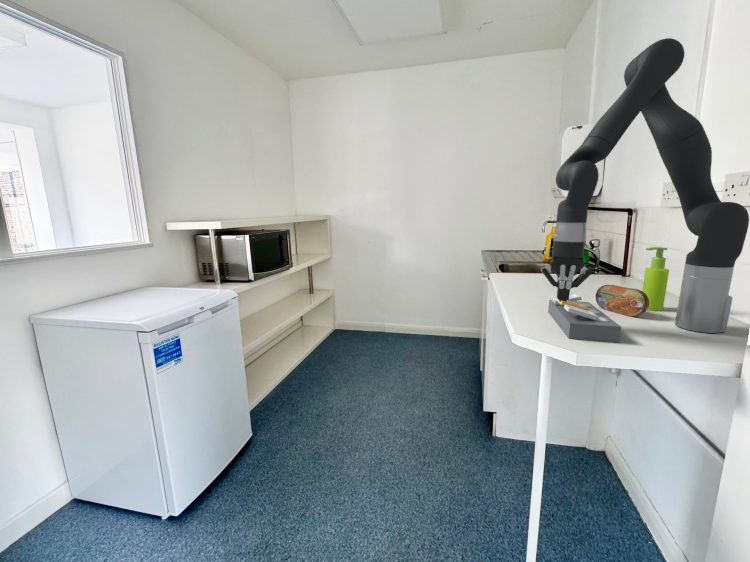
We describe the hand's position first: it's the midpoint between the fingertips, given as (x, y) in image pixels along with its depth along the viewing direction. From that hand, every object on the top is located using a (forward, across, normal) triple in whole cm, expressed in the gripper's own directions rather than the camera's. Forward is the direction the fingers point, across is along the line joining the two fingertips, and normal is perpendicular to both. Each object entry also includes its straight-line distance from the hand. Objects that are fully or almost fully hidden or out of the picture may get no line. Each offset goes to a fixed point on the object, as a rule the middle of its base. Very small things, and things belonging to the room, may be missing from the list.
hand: (562, 301), depth 96 cm
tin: (+7, -21, -17) cm, 28 cm away
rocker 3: (+1, -3, +7) cm, 8 cm away
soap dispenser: (+6, -32, -24) cm, 40 cm away
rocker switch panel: (+6, -5, 0) cm, 8 cm away
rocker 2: (+1, -3, 0) cm, 3 cm away
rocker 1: (+1, -3, -7) cm, 7 cm away
